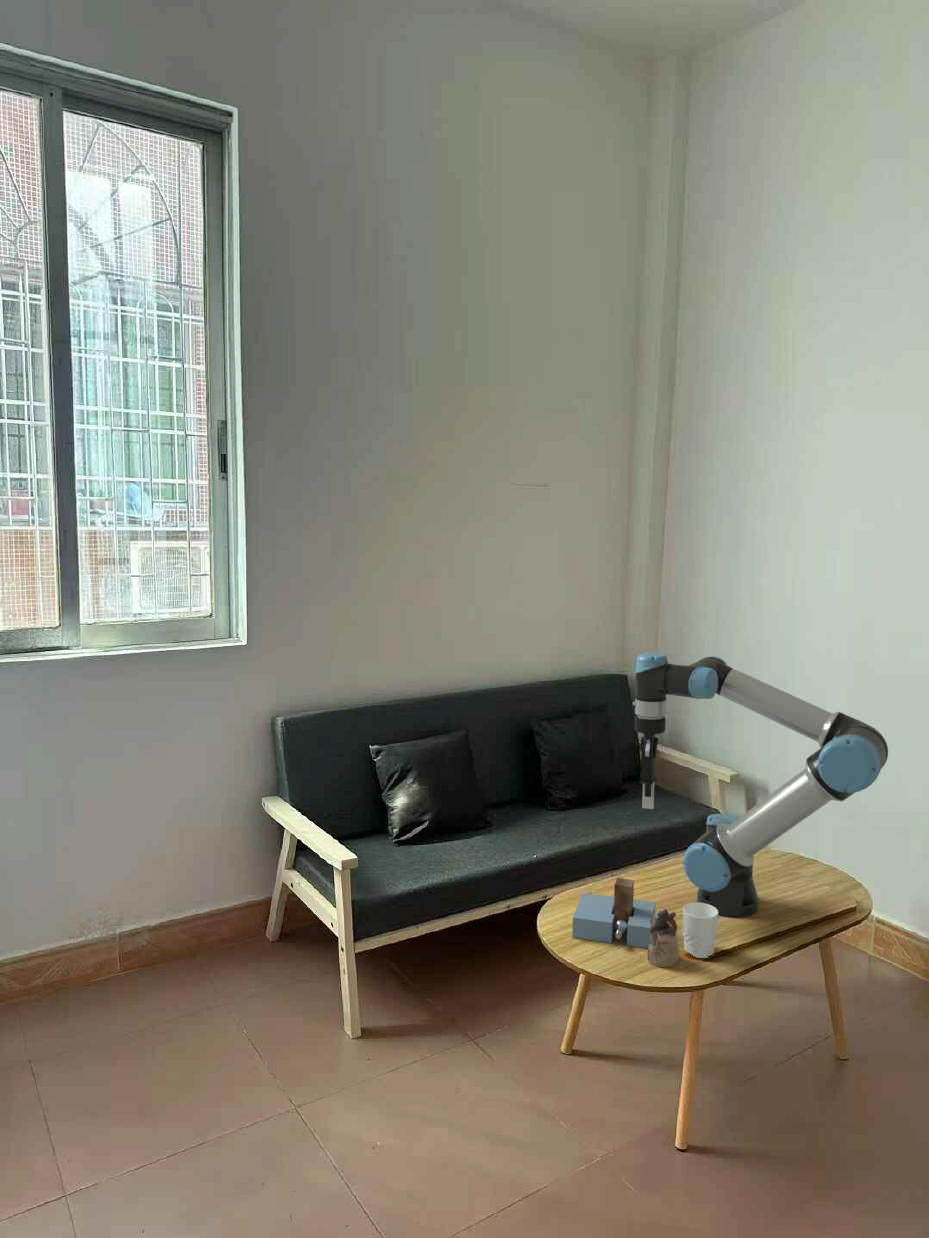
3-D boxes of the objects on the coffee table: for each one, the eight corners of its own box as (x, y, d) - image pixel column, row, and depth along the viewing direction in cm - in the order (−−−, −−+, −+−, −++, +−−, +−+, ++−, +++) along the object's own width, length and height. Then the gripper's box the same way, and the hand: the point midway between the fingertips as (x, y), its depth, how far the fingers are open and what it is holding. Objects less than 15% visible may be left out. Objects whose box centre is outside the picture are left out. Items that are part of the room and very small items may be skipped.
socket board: (654, 921, 219) (655, 901, 219) (649, 948, 206) (650, 927, 205) (582, 911, 224) (582, 892, 224) (572, 937, 211) (572, 917, 210)
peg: (632, 926, 216) (633, 880, 215) (630, 934, 212) (631, 886, 211) (616, 924, 218) (617, 877, 216) (613, 932, 214) (614, 884, 212)
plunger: (628, 930, 212) (628, 918, 211) (624, 943, 205) (625, 930, 205) (615, 928, 212) (615, 916, 212) (611, 941, 206) (611, 928, 206)
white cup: (690, 939, 210) (691, 899, 209) (722, 949, 205) (724, 908, 204) (675, 952, 204) (676, 911, 203) (707, 963, 199) (709, 921, 198)
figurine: (656, 948, 206) (658, 899, 204) (684, 958, 201) (686, 908, 200) (640, 960, 200) (642, 910, 199) (669, 971, 196) (670, 919, 194)
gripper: (637, 708, 227) (635, 797, 230) (631, 720, 215) (629, 814, 218) (667, 710, 225) (665, 800, 228) (663, 723, 213) (661, 817, 216)
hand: (647, 807), depth 223 cm, fingers closed
